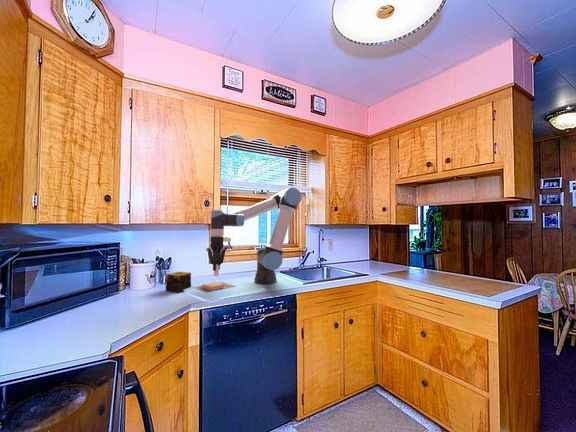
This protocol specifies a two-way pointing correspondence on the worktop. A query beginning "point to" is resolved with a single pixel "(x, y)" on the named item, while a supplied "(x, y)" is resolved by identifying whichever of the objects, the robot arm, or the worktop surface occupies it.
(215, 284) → the tile
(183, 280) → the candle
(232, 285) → the board
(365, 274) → the worktop surface
